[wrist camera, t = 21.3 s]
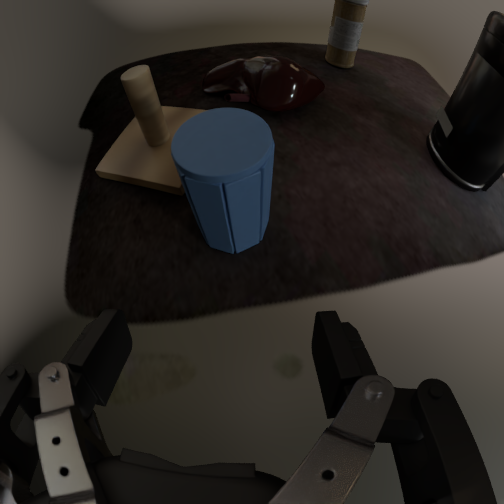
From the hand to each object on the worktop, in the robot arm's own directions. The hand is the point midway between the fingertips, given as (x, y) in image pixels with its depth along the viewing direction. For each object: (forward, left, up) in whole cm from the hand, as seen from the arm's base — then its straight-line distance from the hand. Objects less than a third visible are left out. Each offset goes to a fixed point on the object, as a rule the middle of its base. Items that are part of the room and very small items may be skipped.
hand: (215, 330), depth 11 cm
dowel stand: (+13, -15, -8) cm, 21 cm away
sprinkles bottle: (-2, -40, -8) cm, 41 cm away
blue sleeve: (+3, -9, -8) cm, 12 cm away
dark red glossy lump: (+6, -26, -8) cm, 28 cm away
